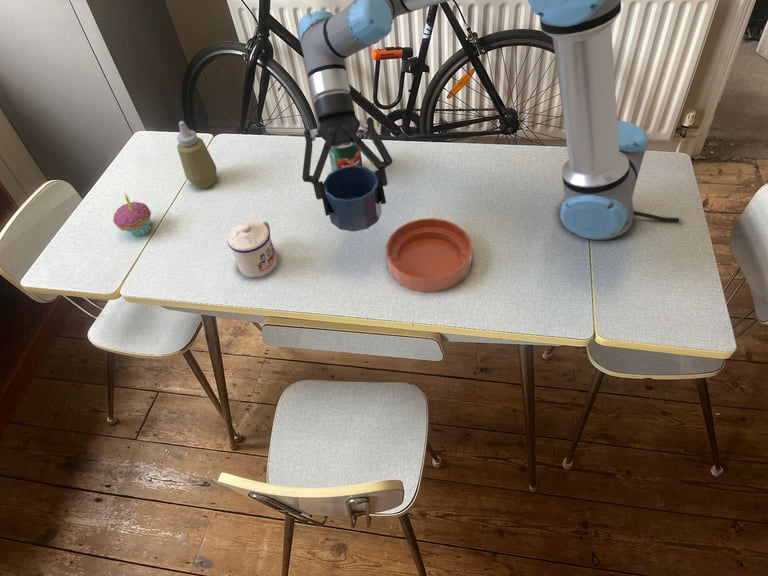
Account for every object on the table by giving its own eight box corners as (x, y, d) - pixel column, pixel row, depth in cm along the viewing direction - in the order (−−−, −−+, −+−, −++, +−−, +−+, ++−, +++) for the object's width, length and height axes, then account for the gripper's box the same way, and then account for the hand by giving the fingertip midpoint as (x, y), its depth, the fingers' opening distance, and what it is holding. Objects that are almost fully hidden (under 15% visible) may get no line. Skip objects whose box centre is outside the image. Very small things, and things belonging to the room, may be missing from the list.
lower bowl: (478, 240, 129) (479, 225, 125) (460, 300, 118) (461, 286, 115) (401, 227, 133) (400, 213, 130) (377, 284, 123) (375, 270, 119)
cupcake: (164, 222, 141) (145, 184, 132) (142, 246, 137) (120, 207, 128) (137, 214, 144) (116, 176, 135) (114, 237, 139) (91, 199, 130)
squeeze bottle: (226, 177, 151) (205, 117, 137) (205, 195, 147) (181, 135, 133) (204, 169, 154) (181, 109, 141) (183, 186, 150) (157, 127, 137)
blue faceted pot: (387, 200, 121) (384, 169, 115) (371, 234, 115) (367, 204, 108) (340, 193, 124) (335, 162, 118) (322, 226, 117) (315, 196, 111)
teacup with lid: (268, 282, 126) (254, 244, 117) (231, 275, 128) (215, 237, 119) (290, 244, 133) (279, 206, 124) (255, 237, 135) (241, 199, 126)
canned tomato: (345, 160, 152) (339, 124, 143) (369, 170, 148) (365, 133, 140) (326, 177, 148) (319, 141, 139) (351, 187, 144) (345, 151, 136)
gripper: (388, 92, 117) (409, 199, 119) (275, 113, 116) (299, 221, 117) (391, 81, 110) (415, 195, 112) (271, 103, 108) (297, 219, 110)
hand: (355, 209), depth 114 cm, fingers closed on blue faceted pot, 11 cm apart
